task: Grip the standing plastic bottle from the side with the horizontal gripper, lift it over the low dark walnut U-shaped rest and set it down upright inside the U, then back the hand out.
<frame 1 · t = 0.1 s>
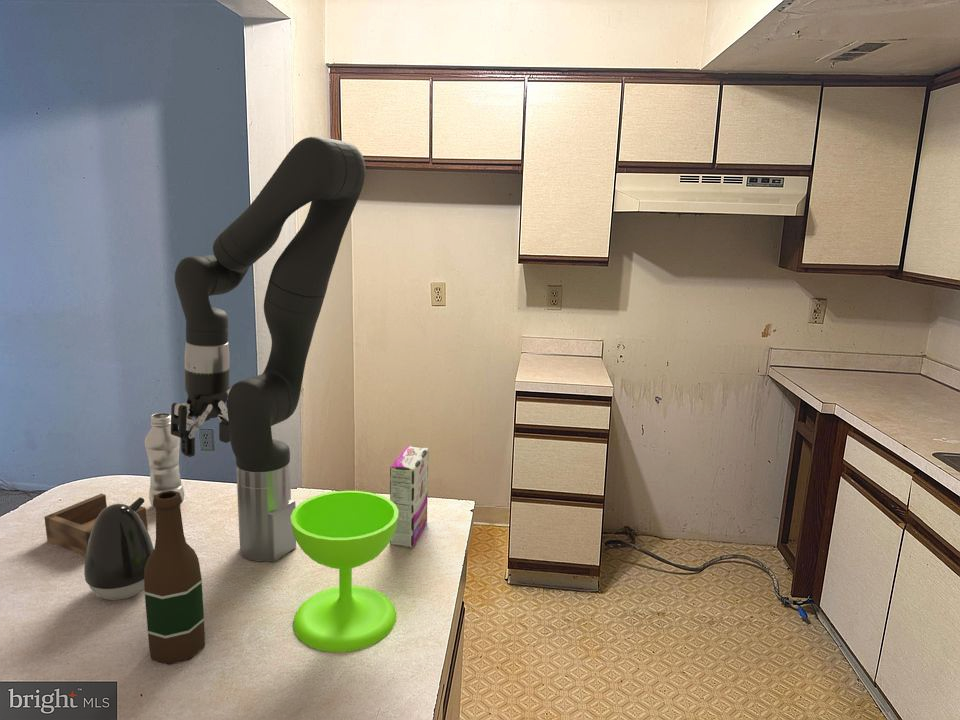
hand: (207, 448, 122), 17 cm above the worktop, tool pointing down, fingers open, 8 cm apart
wineglass: (345, 619, 102), on the worktop
black egg-shaped dispenser: (123, 591, 106), on the worktop
beer bottle: (178, 649, 94), on the worktop
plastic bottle: (167, 507, 135), on the worktop
u rest: (101, 535, 123), on the worktop
candy bar box: (408, 534, 129), on the worktop
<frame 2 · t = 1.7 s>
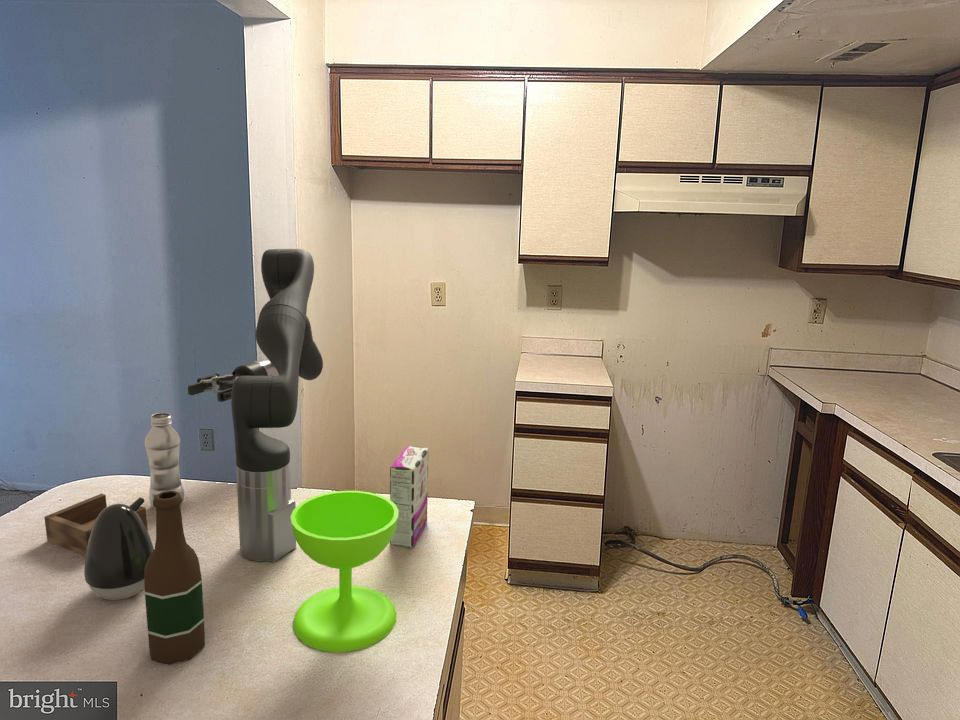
hand: (203, 394, 139), 22 cm above the worktop, tool horizontal, fingers open, 8 cm apart
nothing on the worktop moved.
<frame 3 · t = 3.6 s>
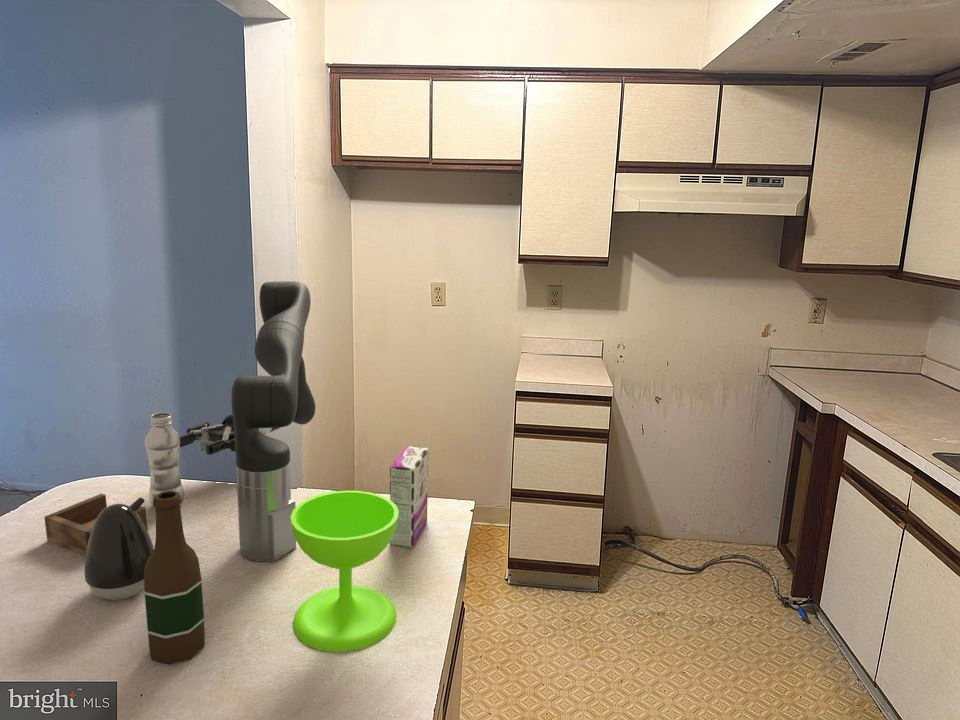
hand: (192, 446, 138), 11 cm above the worktop, tool horizontal, fingers open, 8 cm apart
nothing on the worktop moved.
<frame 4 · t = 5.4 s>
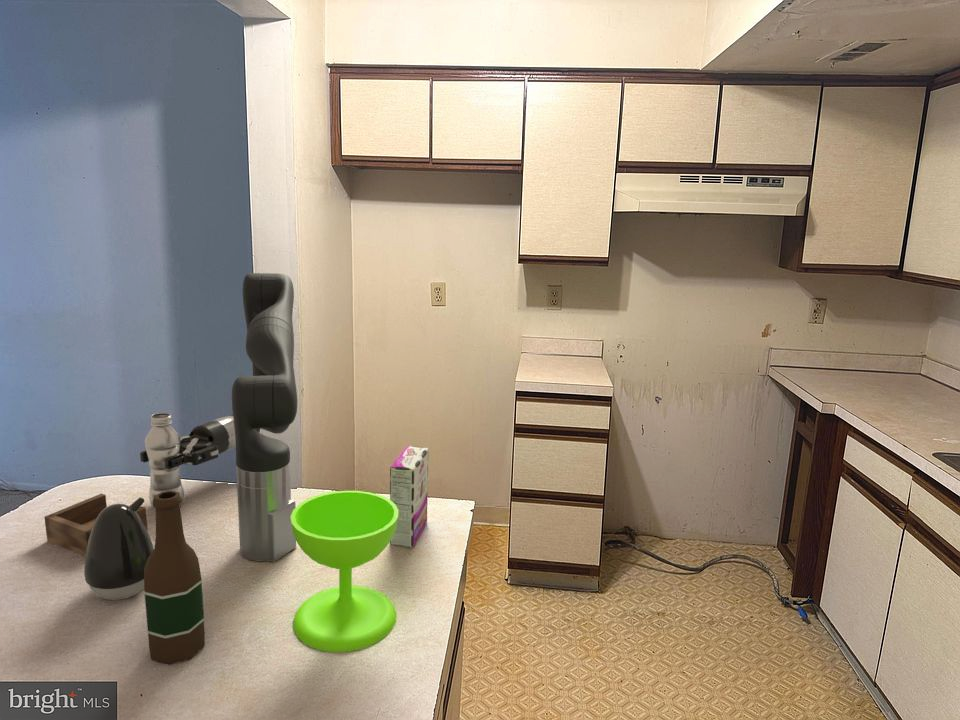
hand: (154, 461, 130), 11 cm above the worktop, tool horizontal, fingers closed on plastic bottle, 6 cm apart
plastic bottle: (167, 507, 135), on the worktop, touching gripper
everything else where it was.
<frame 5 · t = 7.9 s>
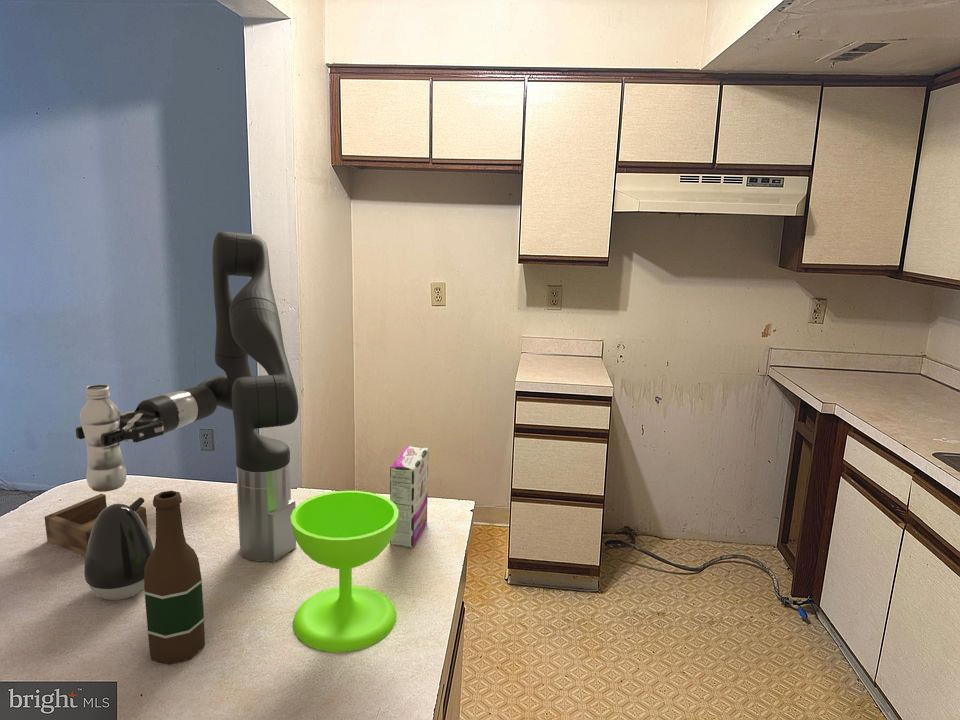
hand: (90, 437, 118), 20 cm above the worktop, tool horizontal, fingers closed on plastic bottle, 6 cm apart
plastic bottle: (108, 489, 122), point 9 cm above the worktop, touching gripper
everything else where it was.
when the fingers open (13 cm above the worktop, at t = 10.2 s): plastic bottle drops 1 cm, resting on u rest.
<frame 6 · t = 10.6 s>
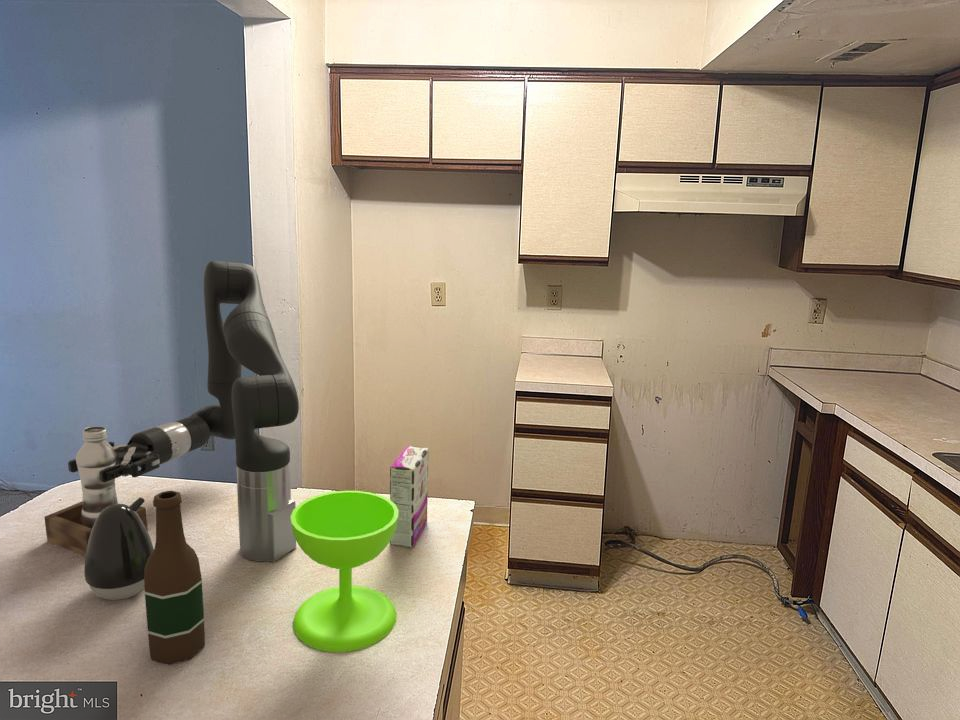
hand: (85, 472, 118), 14 cm above the worktop, tool horizontal, fingers open, 8 cm apart
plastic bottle: (102, 530, 122), point 1 cm above the worktop, touching u rest
everything else where it was.
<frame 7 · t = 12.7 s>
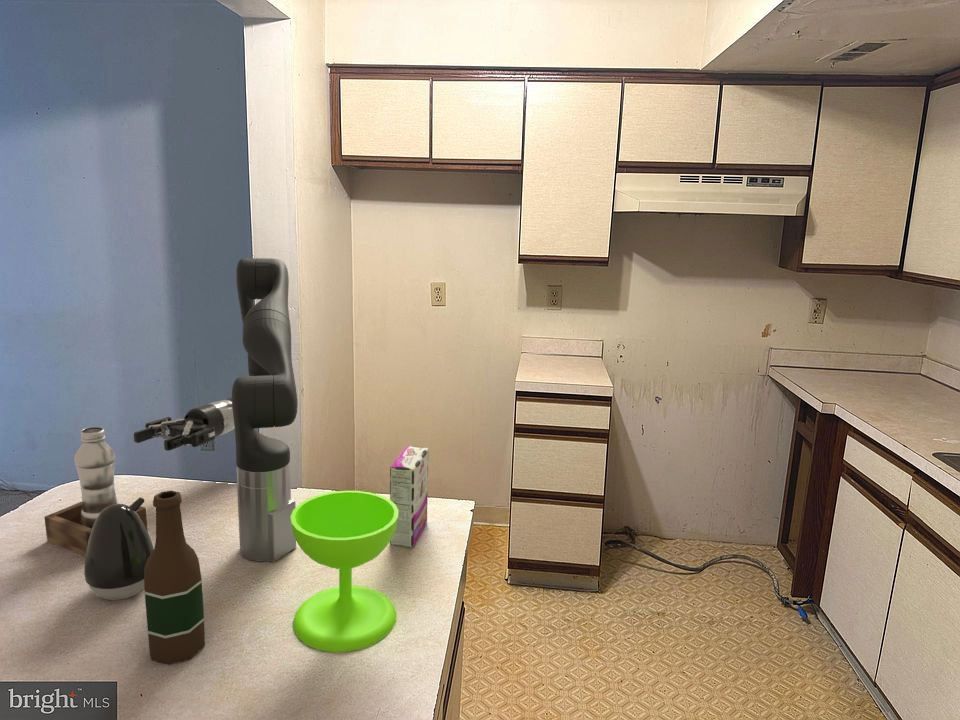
hand: (150, 441, 129), 15 cm above the worktop, tool horizontal, fingers open, 8 cm apart
nothing on the worktop moved.
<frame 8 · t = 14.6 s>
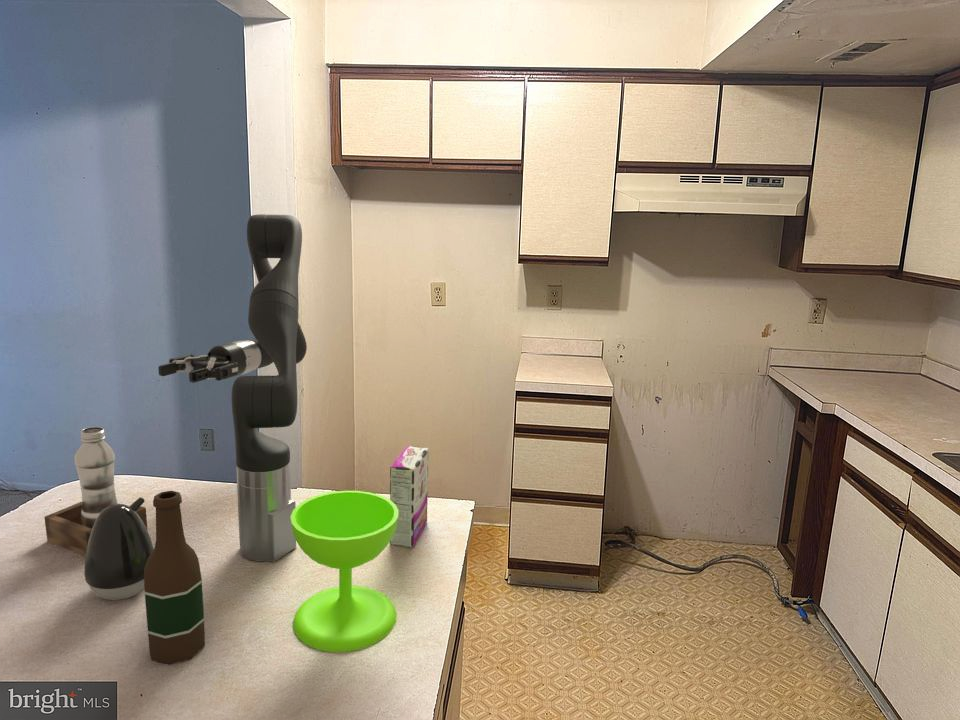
hand: (174, 374, 130), 28 cm above the worktop, tool horizontal, fingers open, 8 cm apart
nothing on the worktop moved.
at the end: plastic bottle 0.1 cm off-centre on the u rest, point 0.8 cm above the u rest's base; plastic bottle tilted 0°; the gripper is holding nothing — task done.
